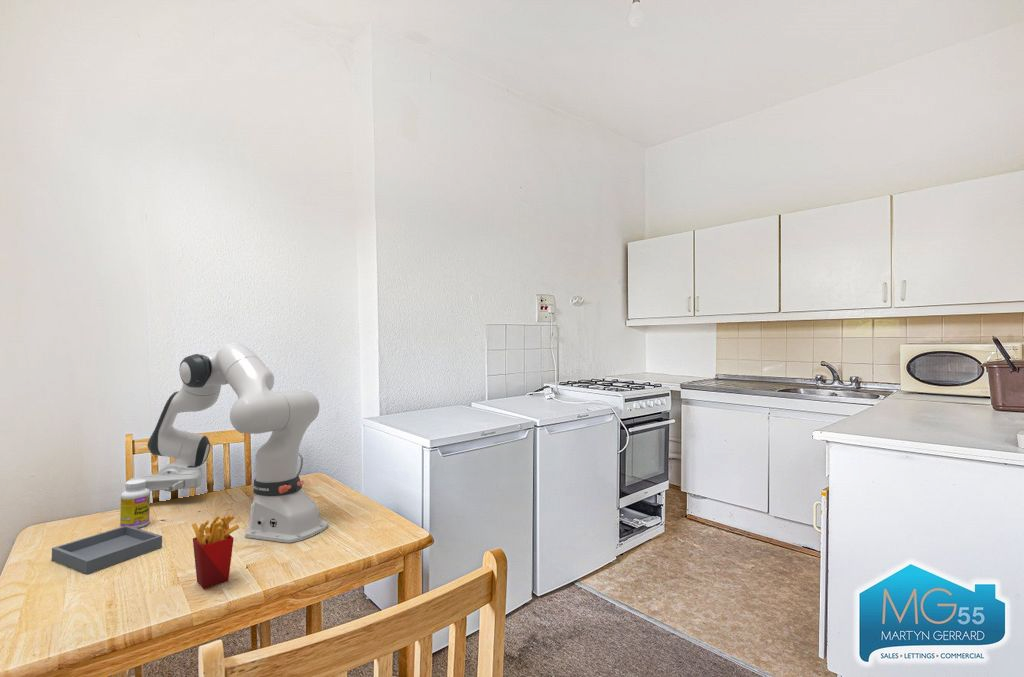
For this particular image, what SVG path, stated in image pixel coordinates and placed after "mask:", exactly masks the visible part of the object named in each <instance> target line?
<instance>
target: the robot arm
mask: <svg viewBox="0 0 1024 677" xmlns="http://www.w3.org/2000/svg"><path fill="white" fill-rule="evenodd" d="M179 376H180V379H181V381H182V387H181V388H180V390H178V391H174V392H173V393H172V394H171V395H170V396H169V398H168V399H167V401H166V403H165V405H164V407H163V409H162V411H161V414H160V416H159V418H158V420H157V423H156V425H155V428H154V430H153V432H152V434H151V435H150V437H149V439H148V442H147V445H146V446H147V449H148V451H149V453H151V454H152V455H153V456H159V457H167V458H172V459H176V460H174V461H172V462H171V463H169V464H168V465H166V466H163V467H162V468H161V469H160V470H159V471H158V472H157V473H156V474H143V475H137V476H135V477H132V478H130V479H128V480H126V482H128V481H132V480H138V479H144V480H146V485H145V488H147V489H149V491H150V492H152V491H153V492H154V491H164V492H175V491H178V490H185V489H195V488H196V489H197V488H199V487H200V486H201V485H202V479H203V470H202V469H203V468H202V465H203V464H205V463H206V461H207V459H208V457H209V455H210V452H211V443H210V440H209V438H208V436H206V435H205V434H199V433H196V432H195V433H194V432H190V431H186V430H181V429H177V428H175V427H174V426H173V424H174V422H175V420H176V418H177V416H178V414H180V413H189V412H190V413H191V412H192V413H193V412H202V411H204V410H207V409H210V408H212V406H214V405H215V404H216V402H217V401H218V399H219V396H220V393H221V389H222V386H225V385H229V386H230V387H231V388H232V390H233V391H234V392H235V394H236V396H237V400H236V401H235V402H234V403H233V404H232V406H231V408H230V413H229V419H230V423H231V426H232V427H233V428H234V430H235V431H236V432H238V433H240V434H250V435H251V434H255V435H256V434H264V433H269V432H271V434H270V437H269V438H268V439H267V441H266V442H265V443H264V444H263V445H262V446H260V447H259V448H258V449H257V451H256V454H255V470H254V471H255V475H254V476H255V478H254V479H253V484H252V488H253V489H252V491H253V493H254V496H253V500H252V503H251V505H250V511H249V512H250V513H249V520H248V521H249V522H248V527H247V530H246V531H245V535H244V537H245V538H249V539H256V540H264V541H270V542H280V543H288V544H290V543H291V544H292V543H296V542H300V541H302V540H305V539H308V538H312V537H314V536H316V535H318V534H320V533H322V532H323V531H324V529H325V530H326V529H327V528H328V527H327V526H329V522H327V521H325V520H323V519H321V518H320V510H319V507H318V505H317V504H316V501H315V500H312V499H311V497H309V495H308V494H307V493H306V492H305V491H304V490H303V486H302V485H305V483H304V482H305V480H304V479H303V480H301V479H300V474H299V475H298V468H299V467H298V465H299V463H298V461H299V455H298V453H299V451H300V446H301V442H302V440H303V437H304V435H305V433H306V431H307V429H308V428H309V427H310V425H311V424H312V423H313V422H314V421H315V420H316V419H317V417H318V416H319V413H320V402H319V399H318V398H317V396H316V394H314V393H312V392H309V391H305V390H287V391H280V392H279V391H277V392H276V391H272V389H273V388H274V385H275V376H274V375H273V373H272V371H271V370H270V369H269V368H268V367H267V365H266V364H265V363H264V362H263V360H261V359H260V357H259V356H258V355H257V354H256V353H255V352H254V351H252V350H251V349H250V348H249V347H248V346H246V345H244V344H243V343H241V342H240V343H239V342H229V343H227V344H225V345H222V346H221V347H220V348H219V349H218V350H217V351H209V352H203V353H195V354H191V355H189V356H186V357H184V358H183V359H182V361H181V362H180V364H179ZM126 482H125V483H126ZM319 532H320V533H319ZM317 533H318V534H317ZM315 534H316V535H315Z"/></svg>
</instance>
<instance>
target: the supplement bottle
mask: <svg viewBox="0 0 1024 677" xmlns="http://www.w3.org/2000/svg"><path fill="white" fill-rule="evenodd" d="M127 481H128V480H127ZM145 485H146V480H144V479H138V480H132V481H128V482H125V485H124V486H125V491H123V492H122V493H121V495H120V515H119V516H120V517H119V519H120V520H119V523H120V524H119V526H120V527H123V526H126V525H128V526H132V527H135V528H138V529H141V528H143V527H145V526H147V525H148V524H150V512H151V511H150V508H151V507H150V505H151V504H150V503H151V502H150V501H151V500H150V499H151V497H150V496H151V491H149V489H147V488H145Z"/></svg>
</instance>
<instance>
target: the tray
mask: <svg viewBox="0 0 1024 677" xmlns="http://www.w3.org/2000/svg"><path fill="white" fill-rule="evenodd" d="M161 547H162V548H163V535H160V534H157V533H154V532H151V531H147V530H144V529H141V528H135V527H132V526H128V525H126V526H123V527H118V528H117V527H115V528H113V529H110V530H107V531H104V532H100V533H96V534H94V535H90V536H87V537H83V538H80V539H76V540H74V541H70V542H67V543H65V544H60V545H56V546H55V547H52V548H51V561H52V560H53V562H56V563H58V564H60V565H62V566H65V567H66V568H67V567H68V568H69V569H71V570H72V569H73V571H74V570H75V571H77V572H79V573H82V574H85V575H89V574H92V573H94V572H98V571H100V570H103V569H106V568H109V567H111V566H114V565H116V564H120V563H123V562H125V561H128V560H130V559H133V558H134V559H135V558H136V557H139V556H142V555H144V554H148V553H150V552H153V551H156V550H158V549H161Z"/></svg>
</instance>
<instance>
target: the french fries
mask: <svg viewBox="0 0 1024 677" xmlns="http://www.w3.org/2000/svg"><path fill="white" fill-rule="evenodd" d="M235 518H236V516H235V515H230V514H228V515H227V516H226V517H225V516H221V515H218V514H217V515H216V516H215V517H214V519H213V520H212V522H211V520H210V519H207V520H205V522H200V526H198V525H197V522H194V523H192V524H191V526H192V529H193V530H194V535H195V537H192V545H193V555H194V564H195V565H194V566H195V573H196V583H197V584H199V586H200V587H201V588H202V589H203V590H207V589H210V588H213V587H217V586H218V585H222V584H224V583H225V584H226V583H228V582H229V579H230V571H231V565H232V564H231V563H232V556H233V547H234V539H235V538H234V537H233V536H232V535H231V534H232V533H234V532H235V531H236V530H238V529H240V526H239V524H235V525H234V526H231V527H230V525H229V524H230V523H231V522H232V521H233V520H234V519H235ZM219 519H220V520H221V521H220V520H219ZM218 520H219V521H218ZM210 522H211V523H210ZM209 523H210V525H209ZM208 525H209V526H208Z"/></svg>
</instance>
